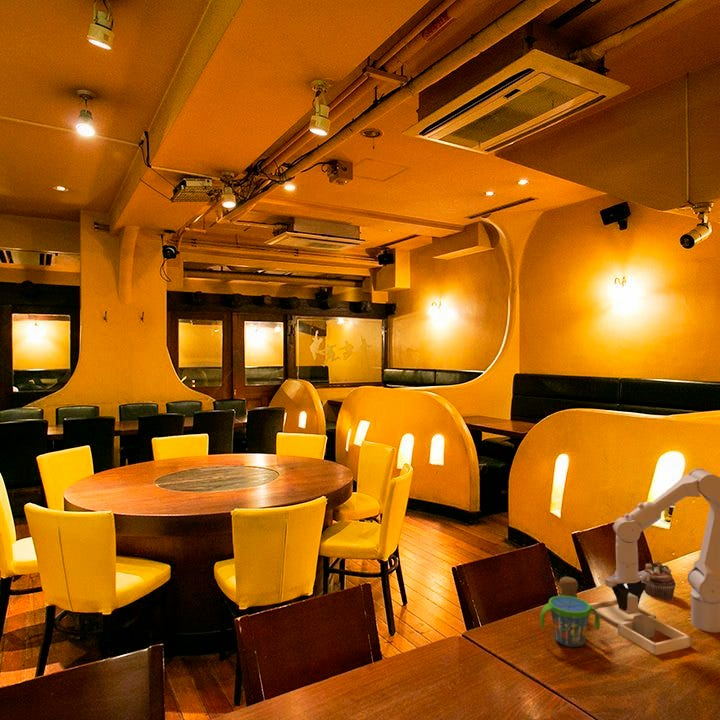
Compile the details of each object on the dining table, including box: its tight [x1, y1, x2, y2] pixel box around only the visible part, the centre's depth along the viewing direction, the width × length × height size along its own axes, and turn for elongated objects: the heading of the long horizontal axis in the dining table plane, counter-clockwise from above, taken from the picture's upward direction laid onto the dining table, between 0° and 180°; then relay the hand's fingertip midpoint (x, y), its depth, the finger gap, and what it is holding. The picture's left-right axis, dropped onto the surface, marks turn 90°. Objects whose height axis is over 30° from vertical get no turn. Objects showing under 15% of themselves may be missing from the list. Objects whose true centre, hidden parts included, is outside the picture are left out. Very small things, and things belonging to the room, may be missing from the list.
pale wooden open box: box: [617, 616, 692, 656], centre depth 141 cm, size 12×12×4 cm
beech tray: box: [588, 598, 657, 629], centre depth 156 cm, size 14×13×2 cm
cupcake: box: [642, 561, 677, 602], centre depth 170 cm, size 10×10×10 cm
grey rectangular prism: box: [633, 614, 656, 639], centre depth 144 cm, size 4×4×4 cm
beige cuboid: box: [618, 593, 639, 615], centre depth 153 cm, size 4×4×4 cm
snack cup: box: [539, 595, 601, 648], centre depth 143 cm, size 16×10×10 cm
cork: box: [558, 576, 579, 598], centre depth 157 cm, size 6×6×11 cm
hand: (628, 608), depth 153 cm, fingers closed on beige cuboid, 4 cm apart
